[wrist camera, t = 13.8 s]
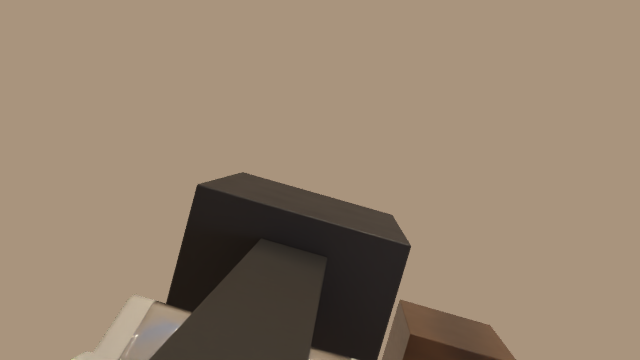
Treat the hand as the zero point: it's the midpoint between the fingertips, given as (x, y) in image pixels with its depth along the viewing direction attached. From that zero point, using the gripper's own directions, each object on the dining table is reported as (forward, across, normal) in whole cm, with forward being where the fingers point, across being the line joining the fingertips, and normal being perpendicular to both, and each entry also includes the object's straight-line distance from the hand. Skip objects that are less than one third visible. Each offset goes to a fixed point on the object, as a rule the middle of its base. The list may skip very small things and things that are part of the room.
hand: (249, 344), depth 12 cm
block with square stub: (+4, 0, +5) cm, 6 cm away
